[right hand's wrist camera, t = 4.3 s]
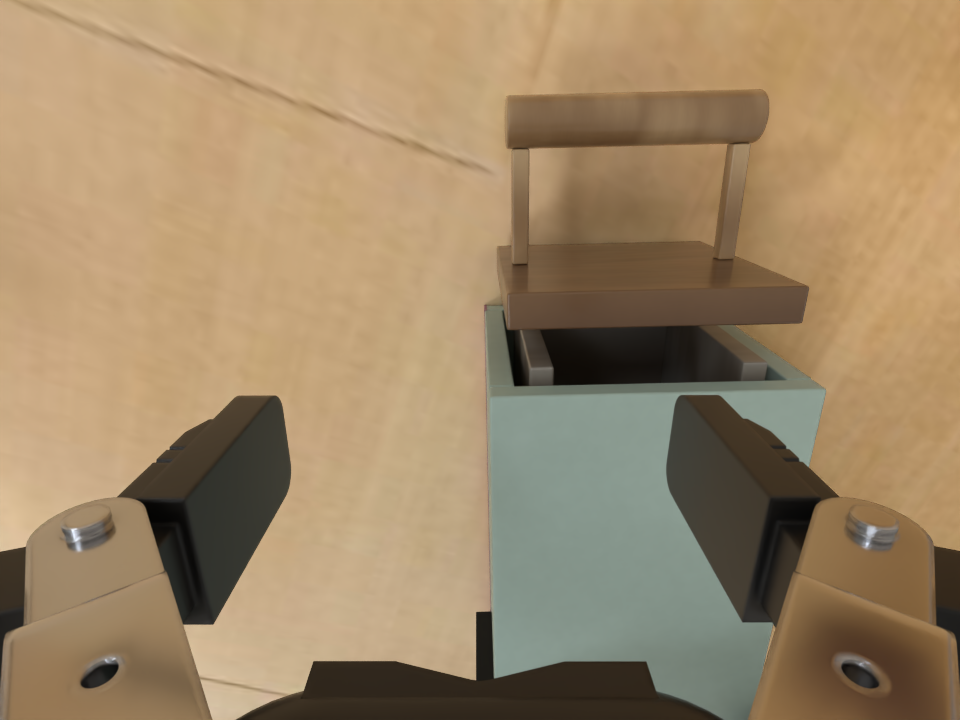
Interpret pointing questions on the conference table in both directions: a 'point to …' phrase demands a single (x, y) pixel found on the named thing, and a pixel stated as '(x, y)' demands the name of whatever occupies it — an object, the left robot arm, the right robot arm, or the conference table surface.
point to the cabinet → (618, 527)
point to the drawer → (637, 254)
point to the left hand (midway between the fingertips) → (597, 630)
